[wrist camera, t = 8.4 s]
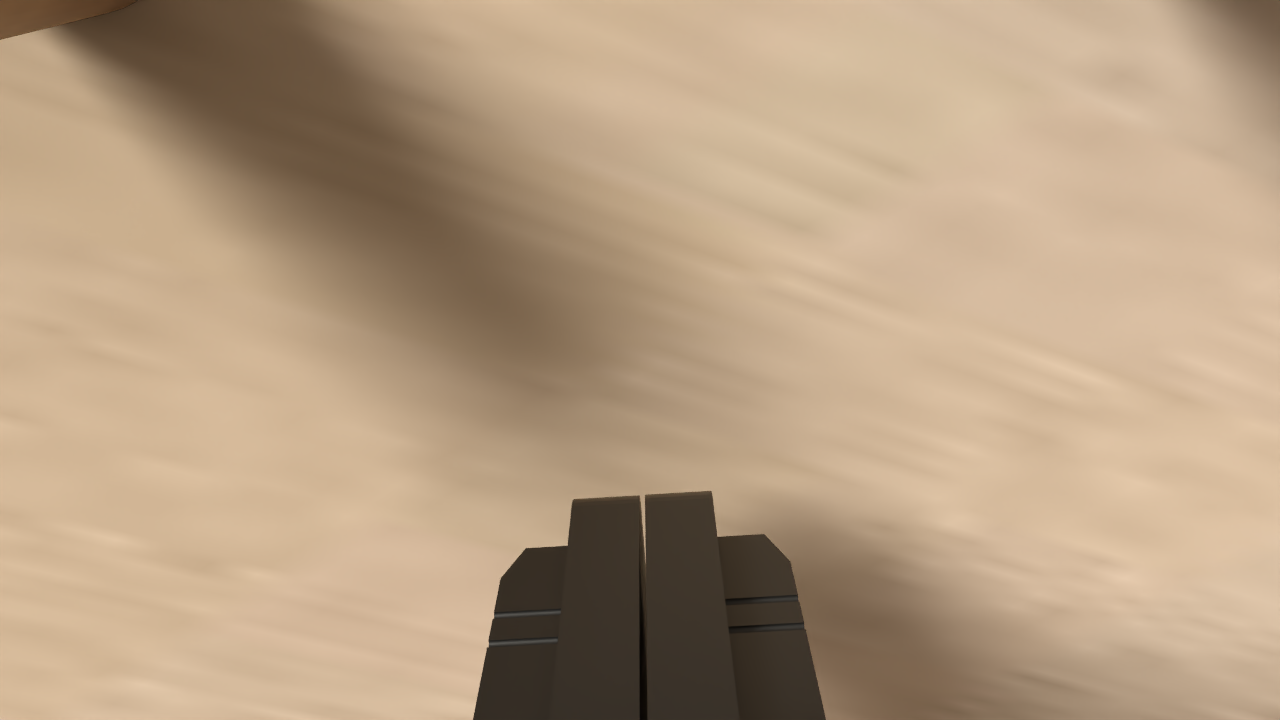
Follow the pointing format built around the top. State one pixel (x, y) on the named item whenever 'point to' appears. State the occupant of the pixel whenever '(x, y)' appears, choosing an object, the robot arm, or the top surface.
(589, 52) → the top surface
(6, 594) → the top surface
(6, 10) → the post
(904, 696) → the top surface
